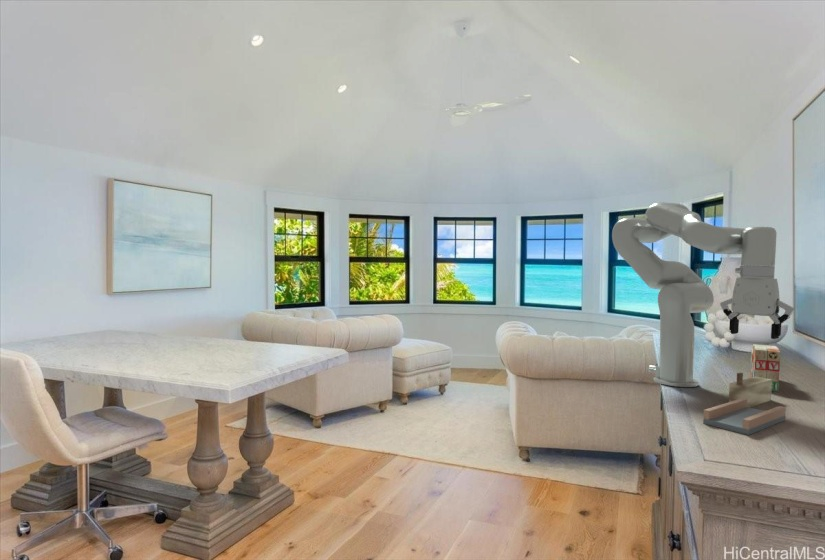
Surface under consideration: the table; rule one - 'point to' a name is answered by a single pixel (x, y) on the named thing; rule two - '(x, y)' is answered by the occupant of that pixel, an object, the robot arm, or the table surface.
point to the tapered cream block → (751, 390)
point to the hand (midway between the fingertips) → (754, 335)
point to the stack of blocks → (766, 363)
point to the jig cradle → (742, 417)
